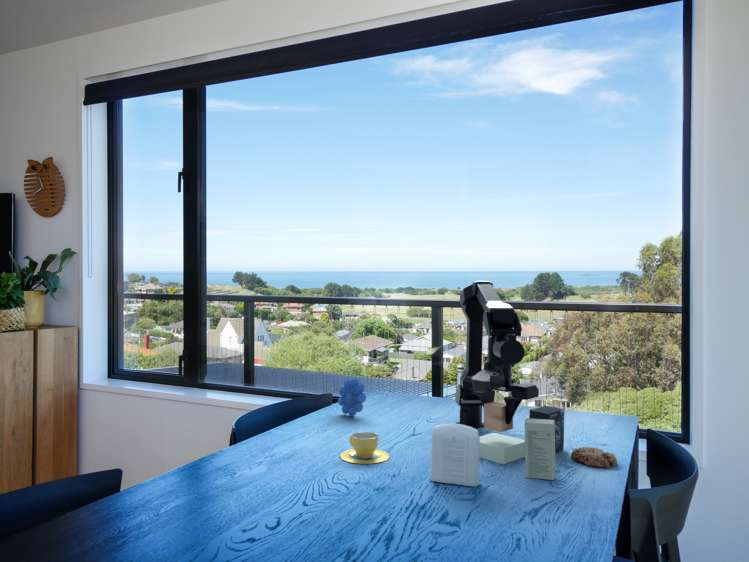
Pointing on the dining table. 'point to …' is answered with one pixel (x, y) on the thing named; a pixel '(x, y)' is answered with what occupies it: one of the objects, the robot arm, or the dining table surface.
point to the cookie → (594, 457)
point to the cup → (364, 449)
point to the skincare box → (540, 448)
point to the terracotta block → (496, 417)
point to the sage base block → (501, 448)
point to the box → (552, 414)
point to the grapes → (352, 396)
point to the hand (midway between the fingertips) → (498, 422)
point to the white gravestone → (455, 454)
